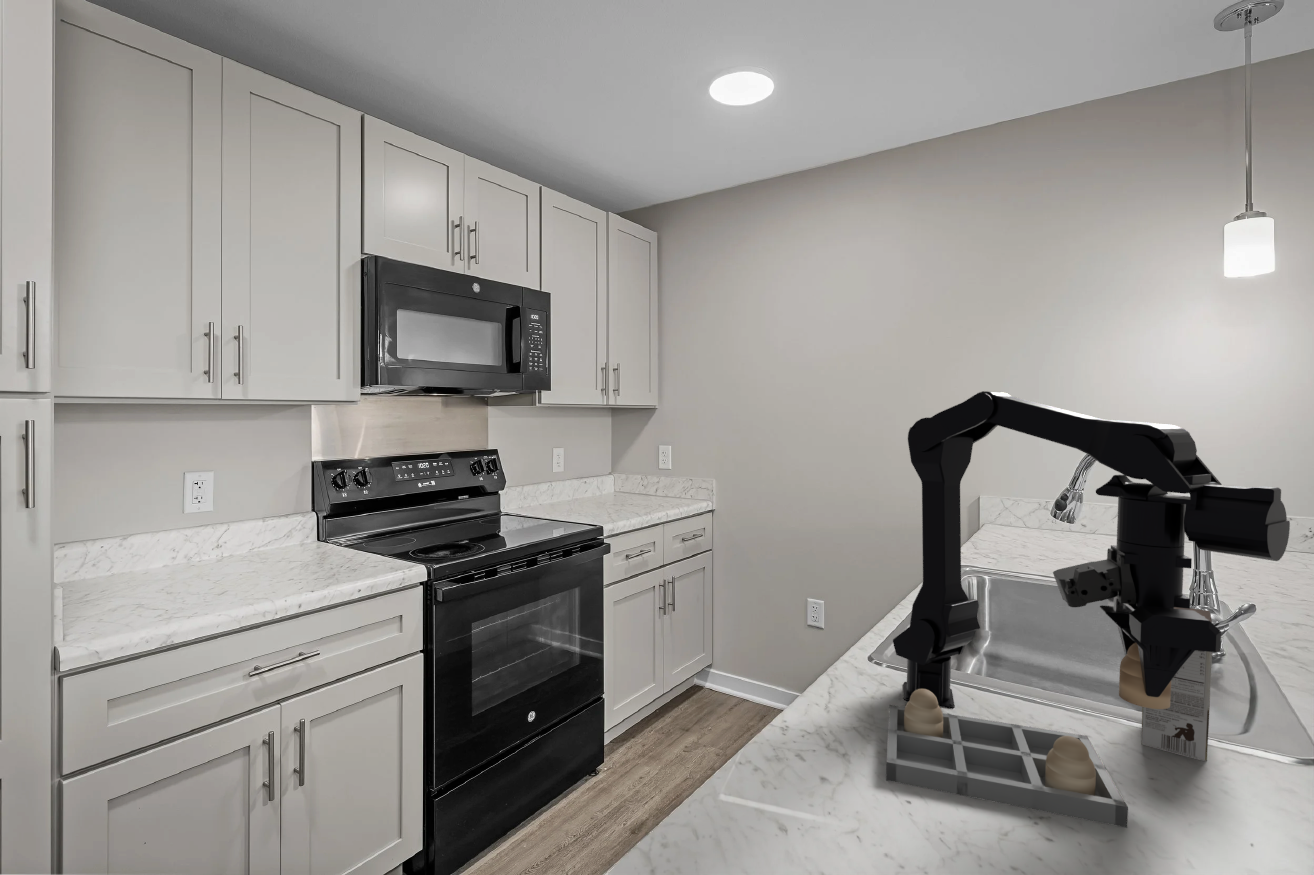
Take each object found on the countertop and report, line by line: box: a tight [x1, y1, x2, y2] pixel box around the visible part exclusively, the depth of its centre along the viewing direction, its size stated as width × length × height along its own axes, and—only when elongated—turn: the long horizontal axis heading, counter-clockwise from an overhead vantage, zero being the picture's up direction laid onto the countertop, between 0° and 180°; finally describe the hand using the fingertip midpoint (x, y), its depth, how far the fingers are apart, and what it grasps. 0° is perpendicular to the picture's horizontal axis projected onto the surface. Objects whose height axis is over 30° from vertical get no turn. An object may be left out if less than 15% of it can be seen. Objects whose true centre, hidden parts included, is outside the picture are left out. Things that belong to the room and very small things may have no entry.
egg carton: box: [885, 704, 1129, 829], centre depth 74 cm, size 15×22×2 cm
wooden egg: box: [1118, 643, 1171, 709], centre depth 69 cm, size 4×4×6 cm
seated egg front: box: [1045, 736, 1096, 796], centre depth 68 cm, size 4×4×6 cm
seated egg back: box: [904, 689, 944, 738], centre depth 79 cm, size 4×4×6 cm
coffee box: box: [1140, 607, 1213, 762], centre depth 80 cm, size 9×6×16 cm
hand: (1144, 687), depth 69 cm, fingers closed on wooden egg, 4 cm apart
